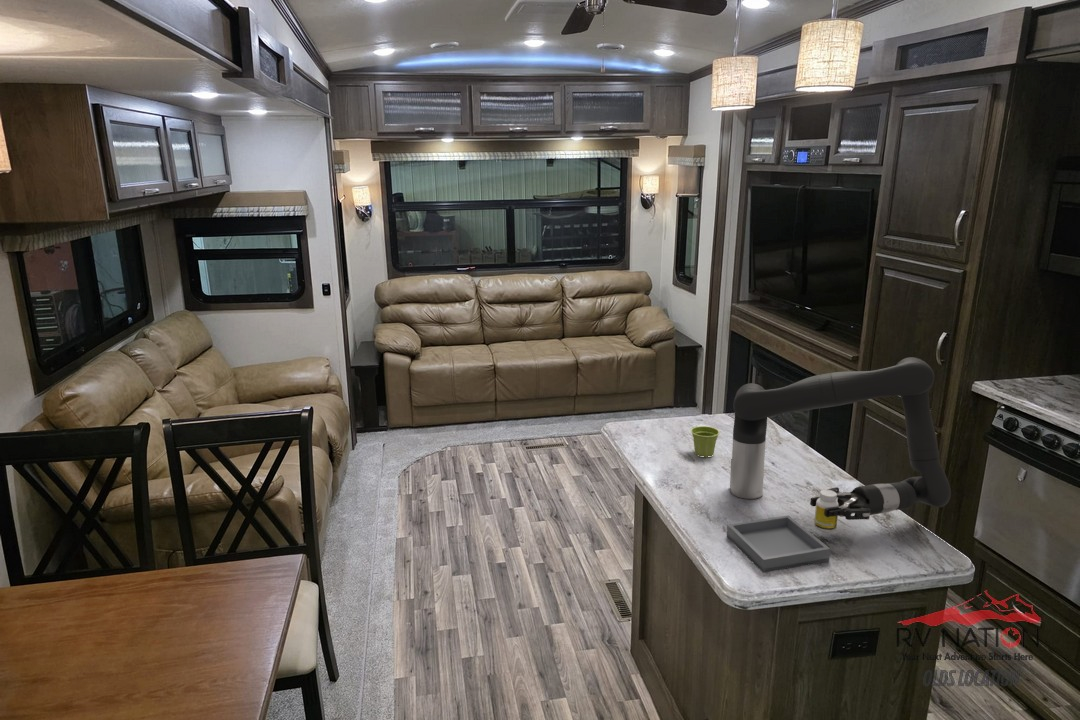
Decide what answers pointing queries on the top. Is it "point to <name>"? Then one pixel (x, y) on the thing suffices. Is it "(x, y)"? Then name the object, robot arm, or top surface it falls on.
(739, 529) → the bin
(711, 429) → the plant pot
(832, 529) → the supplement bottle
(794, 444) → the top surface
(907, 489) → the robot arm
